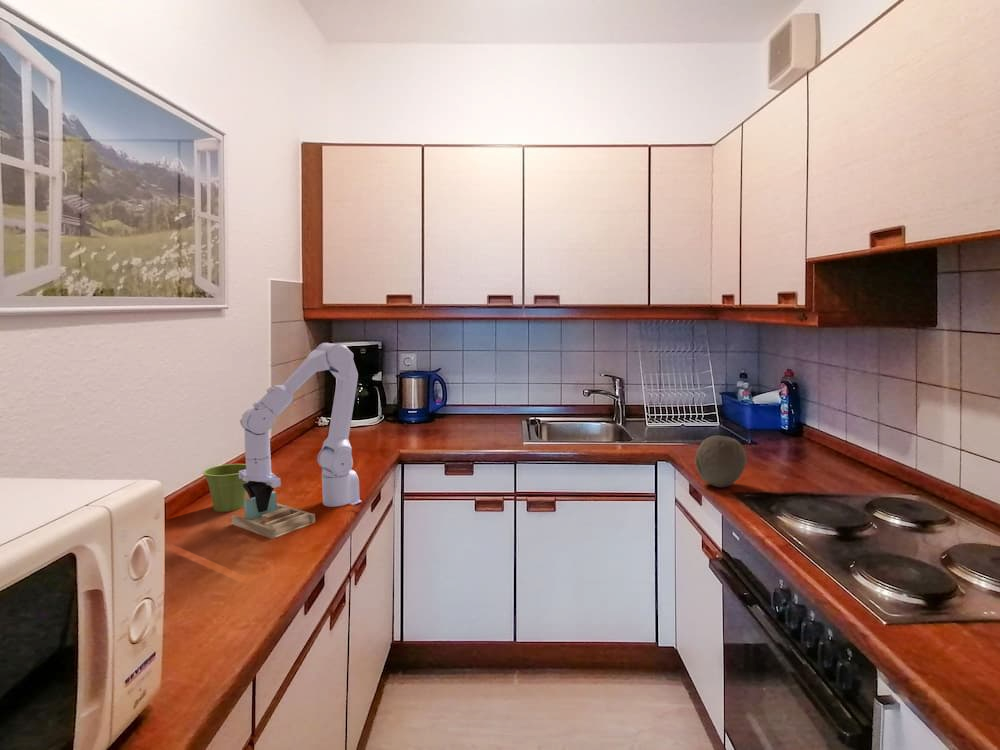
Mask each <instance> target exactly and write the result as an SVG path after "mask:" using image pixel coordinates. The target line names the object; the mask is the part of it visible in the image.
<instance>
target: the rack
mask: <svg viewBox="0 0 1000 750" xmlns="http://www.w3.org/2000/svg"><path fill="white" fill-rule="evenodd" d="M281 508H288V509H290V513H291V514H290V515H287V516H284V517H282V518H279V519H276V520H273V521H270V522H267V523H265V525H263V524H260V523H259V521H262V517H260V518H257V519H254V520H248V519H245V517H242V516H239V515H236V514H235V515H231V525H232V526H235V527H238V528H241V529H244V530H247V531H248V532H252V533H256V534H257V535H261V536H263V537H266V538H269V539H275V538H278V537H280V536H284V535H287V534H289V533H292V532H293V531H296V530H299V529H301V528H304V527H307V526H309V525H312V524H315V523H316V514H315V513H311V512H308V511H304V510H303V509H299V508H295V507H291V506H288V505H285V504H281V503H278V502H277V510H278V509H281Z"/></svg>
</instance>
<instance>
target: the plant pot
mask: <svg viewBox="0 0 1000 750" xmlns="http://www.w3.org/2000/svg"><path fill="white" fill-rule="evenodd" d="M245 469H246V463H229V464H220V465H215V466H212V467H208V468H206V469H205V470H203V471H202V474H203V475H204V476H205V479H206V482H207V484H208V488H209V492H210V493H209V494H210V496H211V501H212V506H213V510H214V511H215V512H220V513H225V512H226V513H228V512H233V511H237V510H242V509H244V508H245V507H244V500H246V499H247V494H248V493H247V491H246V490H245V488H244V487H243V484H245V483H248V482H249V481H243V480H242V479H240V478H239V471H241V470H245Z"/></svg>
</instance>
